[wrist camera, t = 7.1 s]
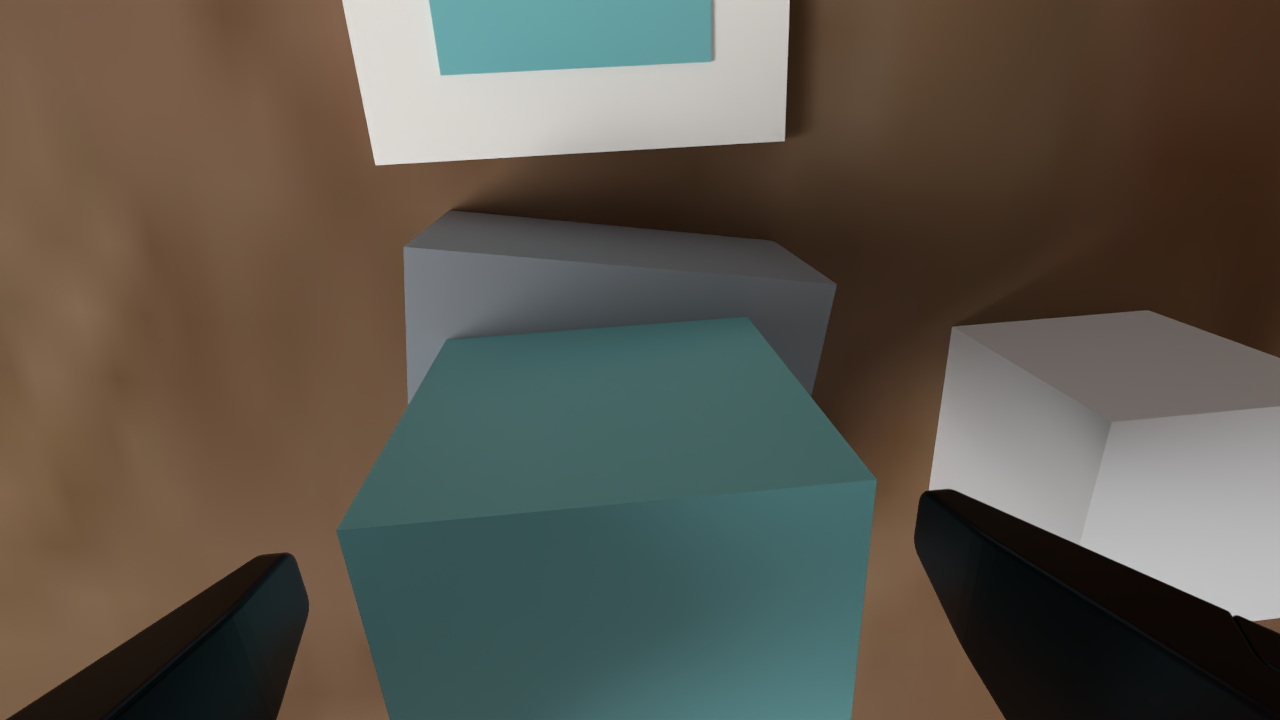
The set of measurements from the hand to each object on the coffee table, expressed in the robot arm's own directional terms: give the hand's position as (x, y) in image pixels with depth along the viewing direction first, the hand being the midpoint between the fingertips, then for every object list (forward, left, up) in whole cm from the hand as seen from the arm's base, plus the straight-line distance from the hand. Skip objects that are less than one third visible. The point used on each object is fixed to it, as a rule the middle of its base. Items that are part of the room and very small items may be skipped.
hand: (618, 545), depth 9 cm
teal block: (0, 0, -2) cm, 3 cm away
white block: (-2, -11, -6) cm, 13 cm away
